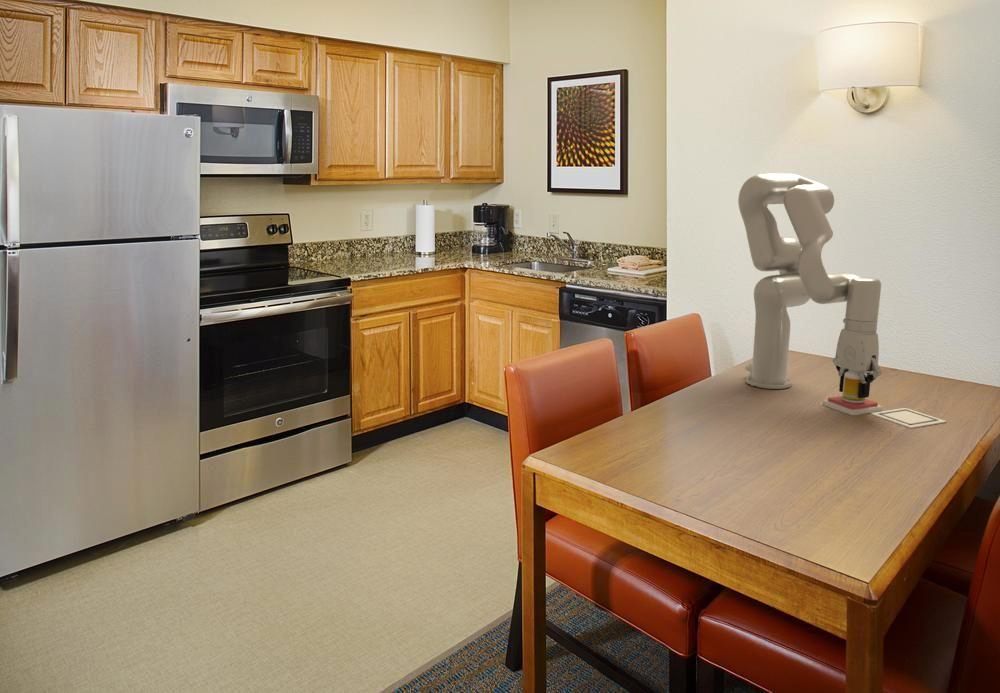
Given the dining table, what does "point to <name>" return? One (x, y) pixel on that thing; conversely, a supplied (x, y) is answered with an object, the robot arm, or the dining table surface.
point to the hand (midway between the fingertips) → (853, 393)
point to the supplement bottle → (852, 387)
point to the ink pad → (852, 406)
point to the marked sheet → (908, 418)
